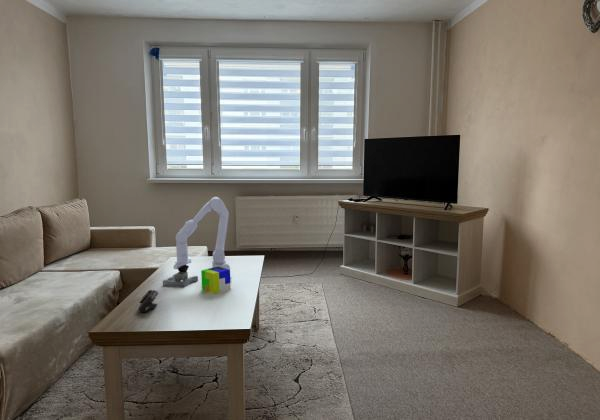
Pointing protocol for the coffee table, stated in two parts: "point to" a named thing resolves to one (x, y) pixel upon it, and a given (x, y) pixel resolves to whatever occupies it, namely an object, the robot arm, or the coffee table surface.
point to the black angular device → (148, 301)
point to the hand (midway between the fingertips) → (183, 279)
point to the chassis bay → (181, 283)
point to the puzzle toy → (215, 280)
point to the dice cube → (181, 276)
